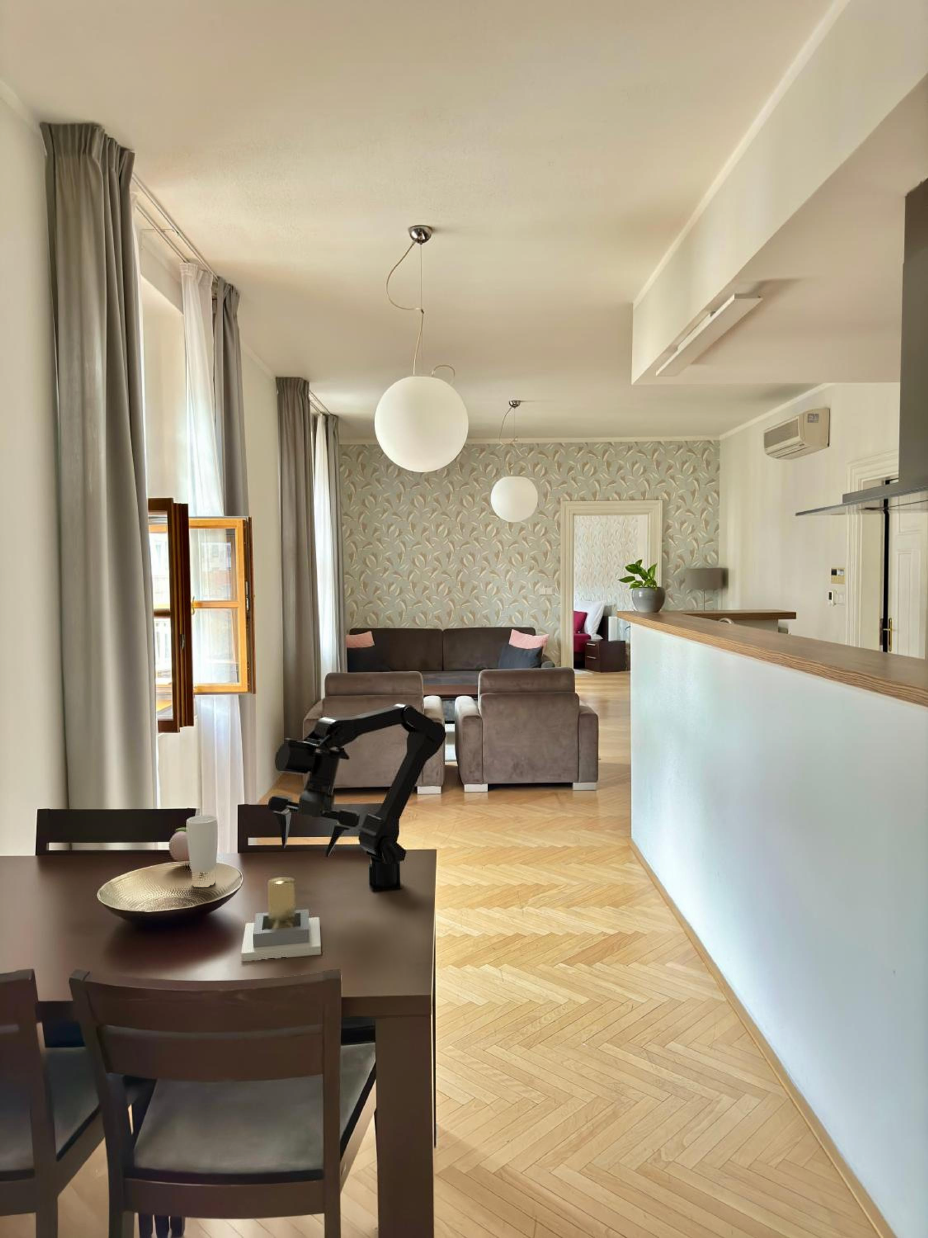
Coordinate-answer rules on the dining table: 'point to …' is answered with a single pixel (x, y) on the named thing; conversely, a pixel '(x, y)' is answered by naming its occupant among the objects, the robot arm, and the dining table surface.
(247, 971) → the dining table surface
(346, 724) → the robot arm
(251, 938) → the jig plate
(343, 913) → the dining table surface
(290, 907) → the cylinder
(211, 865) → the drinking glass
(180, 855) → the decorative fruit
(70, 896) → the dining table surface
